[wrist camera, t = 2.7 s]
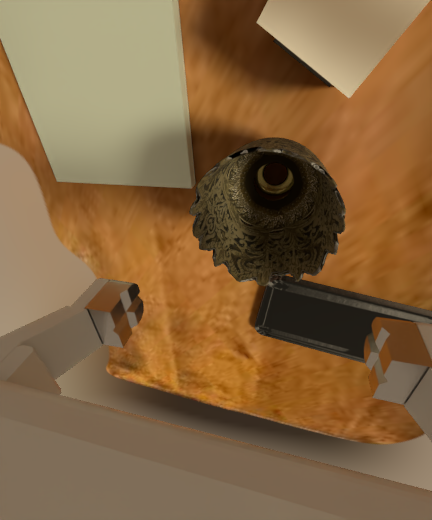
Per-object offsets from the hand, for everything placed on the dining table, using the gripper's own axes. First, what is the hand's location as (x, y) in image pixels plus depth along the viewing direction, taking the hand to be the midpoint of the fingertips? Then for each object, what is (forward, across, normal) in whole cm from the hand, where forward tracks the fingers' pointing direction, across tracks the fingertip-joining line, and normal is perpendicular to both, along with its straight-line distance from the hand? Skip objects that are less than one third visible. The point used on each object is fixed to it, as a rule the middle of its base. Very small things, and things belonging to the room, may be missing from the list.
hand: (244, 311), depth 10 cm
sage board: (+13, +12, -6) cm, 18 cm away
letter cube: (+13, -2, -9) cm, 16 cm away
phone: (+14, -7, +13) cm, 21 cm away
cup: (+13, 0, -1) cm, 13 cm away
